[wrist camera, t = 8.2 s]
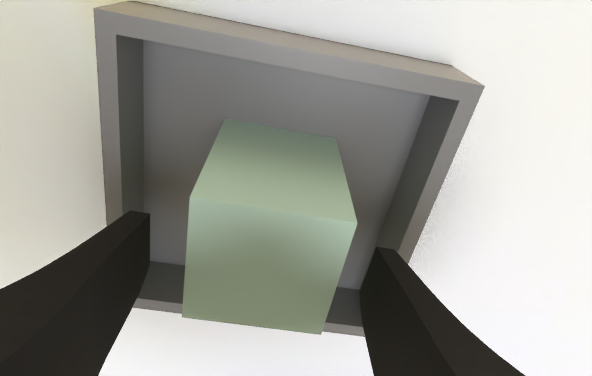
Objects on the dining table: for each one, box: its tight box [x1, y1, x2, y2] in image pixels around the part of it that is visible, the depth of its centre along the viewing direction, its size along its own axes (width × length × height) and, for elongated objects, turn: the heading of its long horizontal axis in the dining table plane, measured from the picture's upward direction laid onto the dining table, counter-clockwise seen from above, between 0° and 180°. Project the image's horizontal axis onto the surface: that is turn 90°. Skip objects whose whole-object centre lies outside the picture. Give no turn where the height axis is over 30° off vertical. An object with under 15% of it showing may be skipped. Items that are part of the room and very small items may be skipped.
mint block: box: [182, 119, 357, 335], centre depth 14 cm, size 4×4×6 cm
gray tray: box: [94, 1, 485, 337], centre depth 16 cm, size 12×12×3 cm
